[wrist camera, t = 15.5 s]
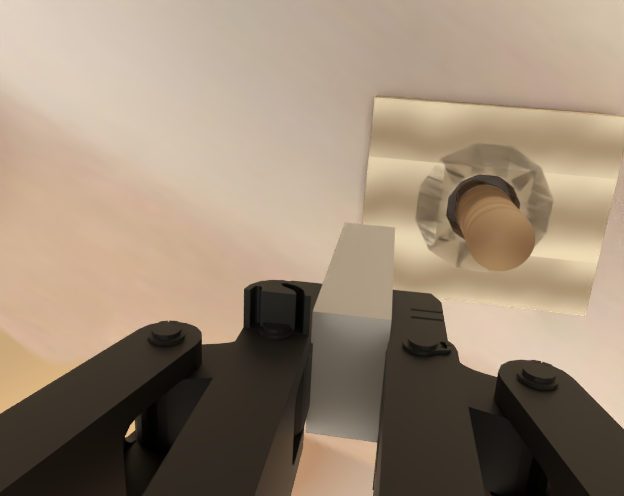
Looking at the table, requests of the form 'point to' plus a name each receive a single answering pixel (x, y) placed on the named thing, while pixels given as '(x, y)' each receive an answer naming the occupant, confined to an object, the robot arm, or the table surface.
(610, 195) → the board
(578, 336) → the table surface
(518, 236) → the peg
